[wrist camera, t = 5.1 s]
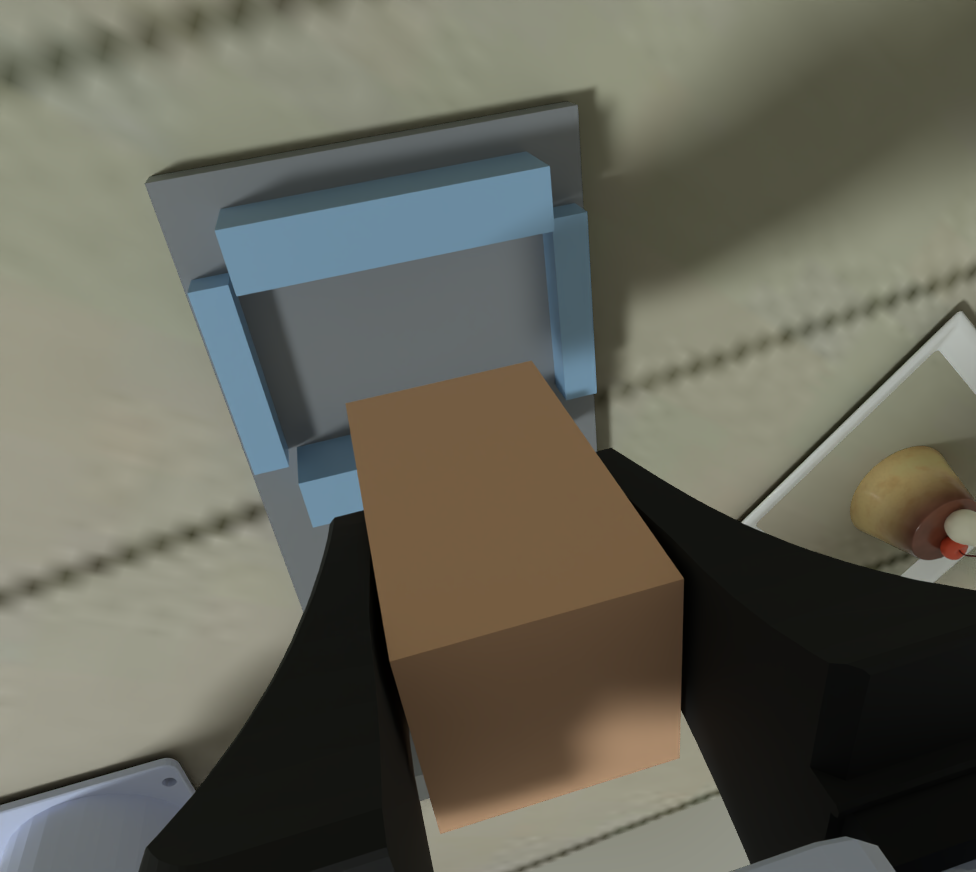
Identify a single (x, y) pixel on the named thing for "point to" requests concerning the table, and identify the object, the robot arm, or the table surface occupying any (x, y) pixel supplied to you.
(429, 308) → the grey fixture plate
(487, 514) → the tan cardboard block
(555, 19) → the table surface
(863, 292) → the table surface
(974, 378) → the dessert
